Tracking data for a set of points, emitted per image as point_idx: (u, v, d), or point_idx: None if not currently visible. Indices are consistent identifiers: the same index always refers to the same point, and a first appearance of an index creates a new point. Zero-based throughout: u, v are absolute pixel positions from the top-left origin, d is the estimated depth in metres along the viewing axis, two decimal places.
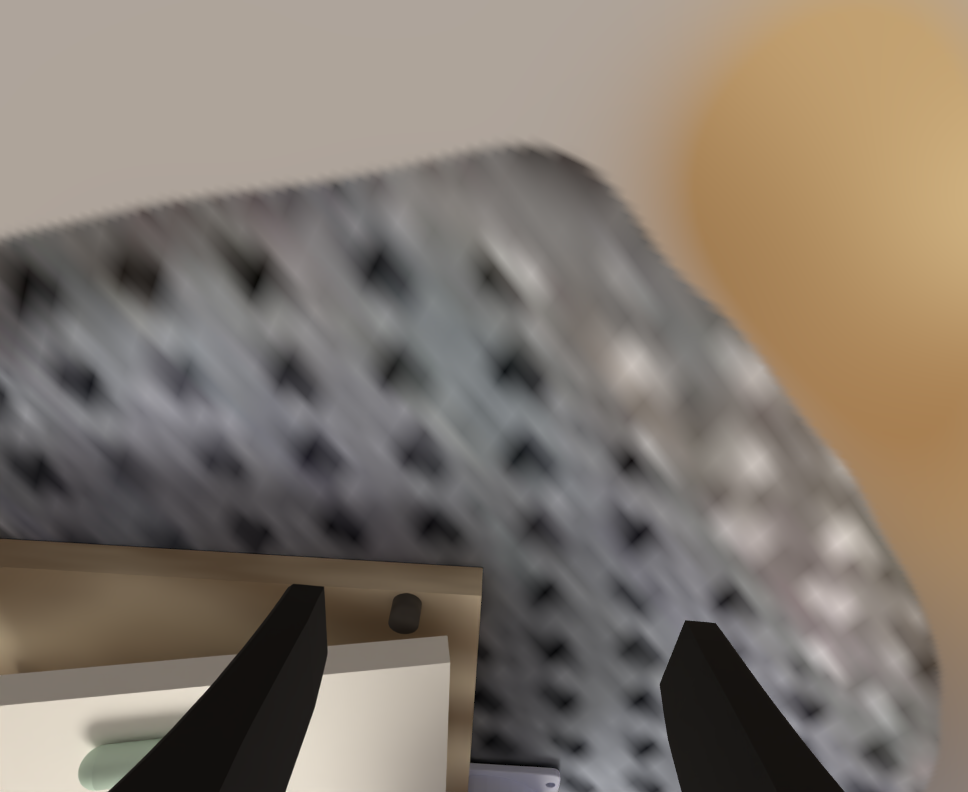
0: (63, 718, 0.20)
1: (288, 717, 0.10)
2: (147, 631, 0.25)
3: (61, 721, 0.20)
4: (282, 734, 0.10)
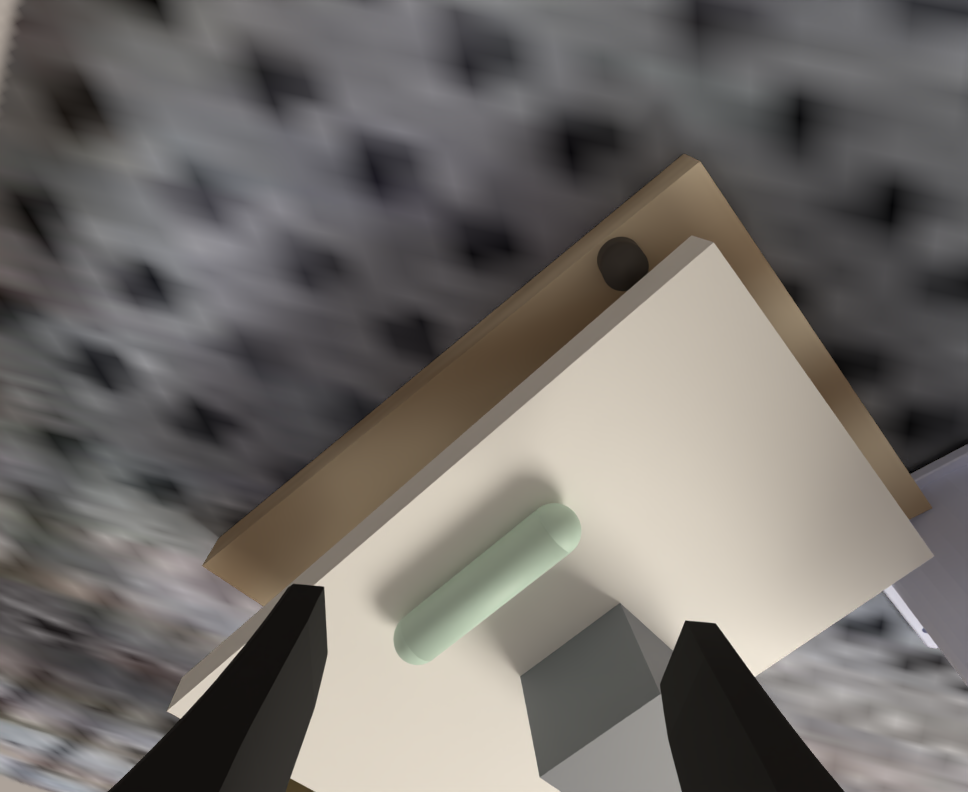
0: (343, 602, 0.16)
1: (288, 717, 0.10)
2: None
3: (345, 608, 0.16)
4: (282, 734, 0.10)
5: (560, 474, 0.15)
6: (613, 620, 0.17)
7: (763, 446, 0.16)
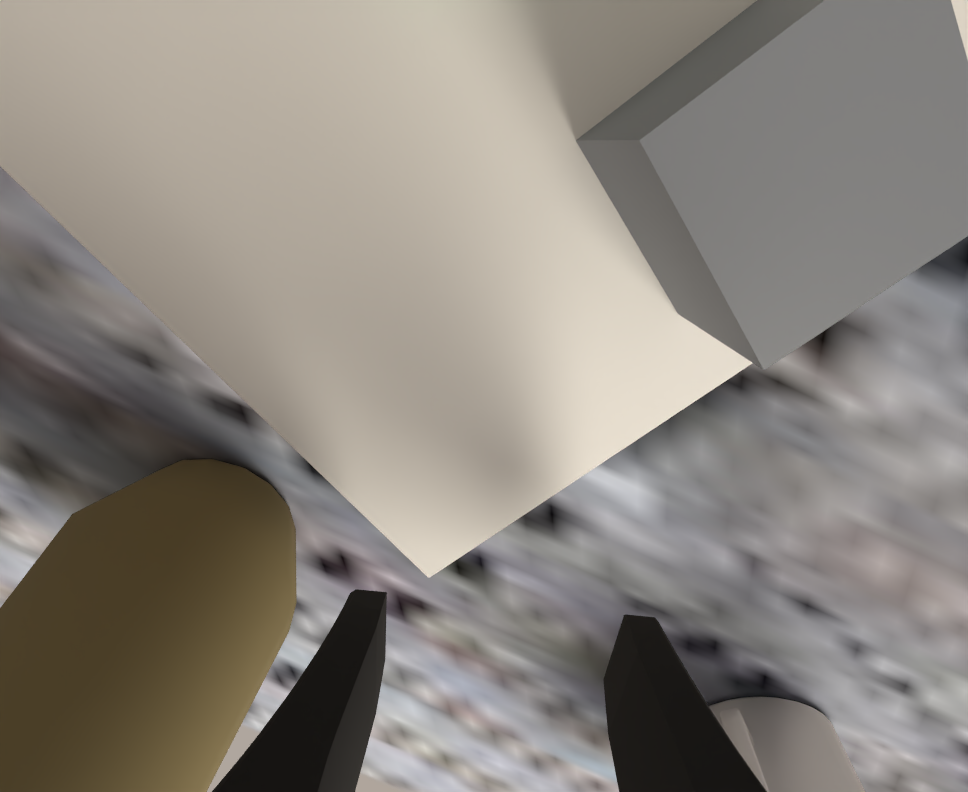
0: None
1: (359, 723, 0.10)
2: None
3: None
4: (354, 740, 0.10)
5: None
6: None
7: None
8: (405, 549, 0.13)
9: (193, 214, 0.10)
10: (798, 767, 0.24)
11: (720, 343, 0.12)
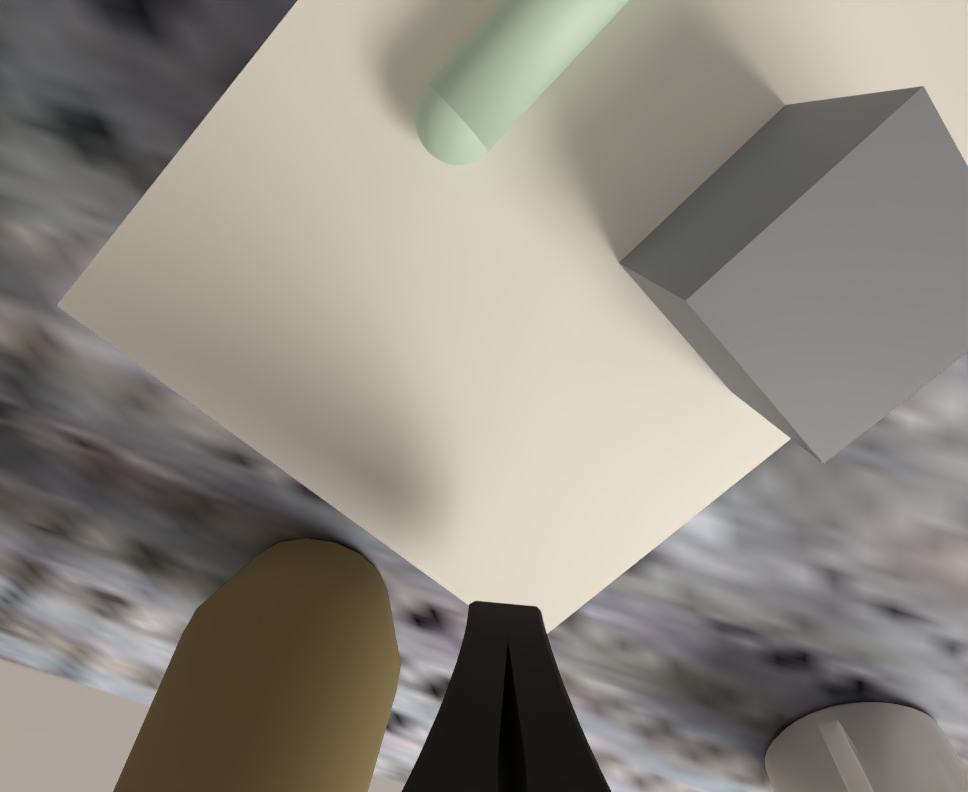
0: (329, 74, 0.10)
1: None
2: None
3: (332, 87, 0.10)
4: None
5: None
6: (779, 121, 0.10)
7: None
8: None
9: (295, 377, 0.12)
10: (907, 773, 0.24)
11: None
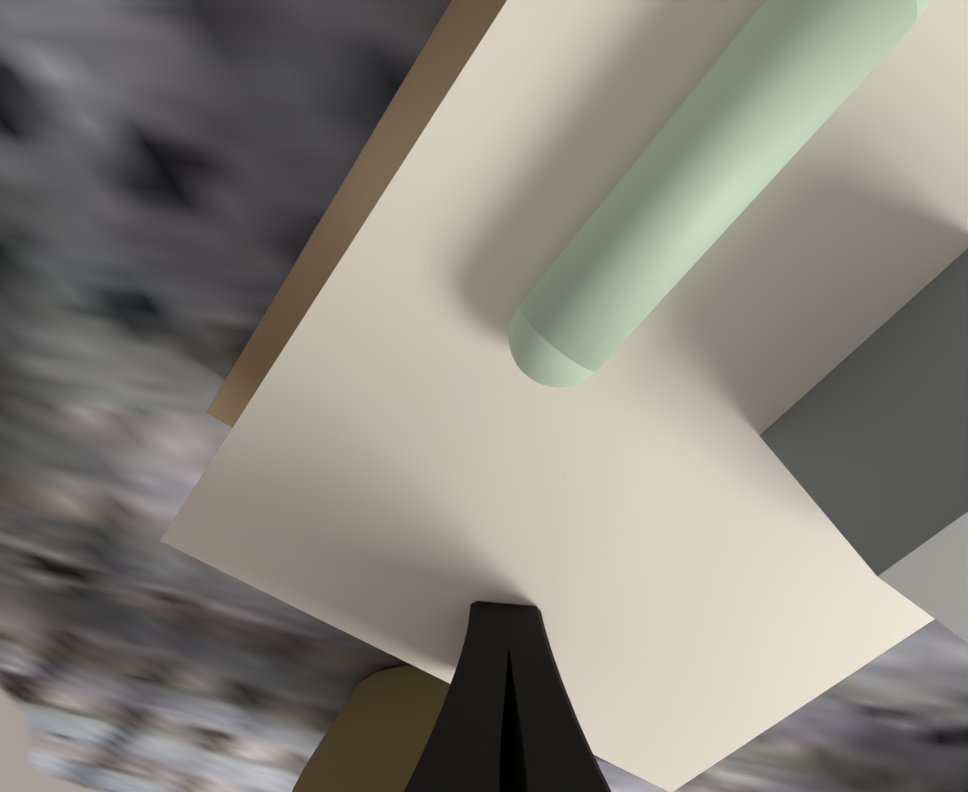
0: (404, 294, 0.08)
1: None
2: None
3: (410, 306, 0.09)
4: None
5: None
6: None
7: None
8: (643, 775, 0.14)
9: (402, 578, 0.11)
10: None
11: None
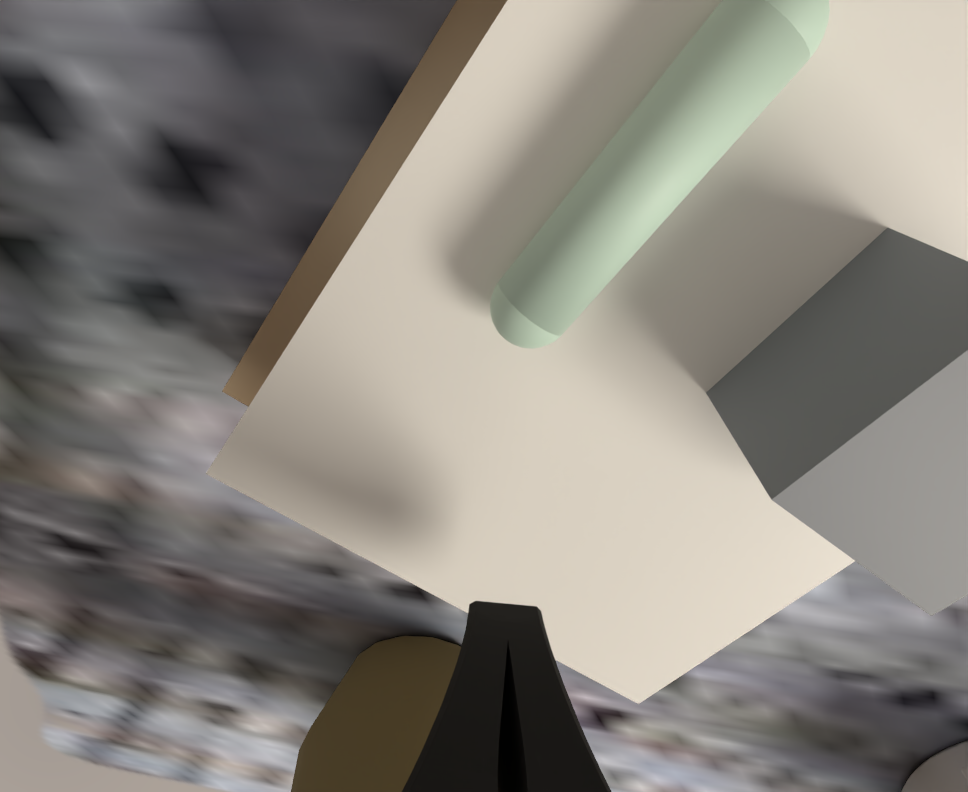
0: (406, 270, 0.10)
1: None
2: None
3: (411, 280, 0.10)
4: None
5: None
6: (879, 253, 0.09)
7: None
8: (614, 687, 0.16)
9: (406, 510, 0.13)
10: None
11: None
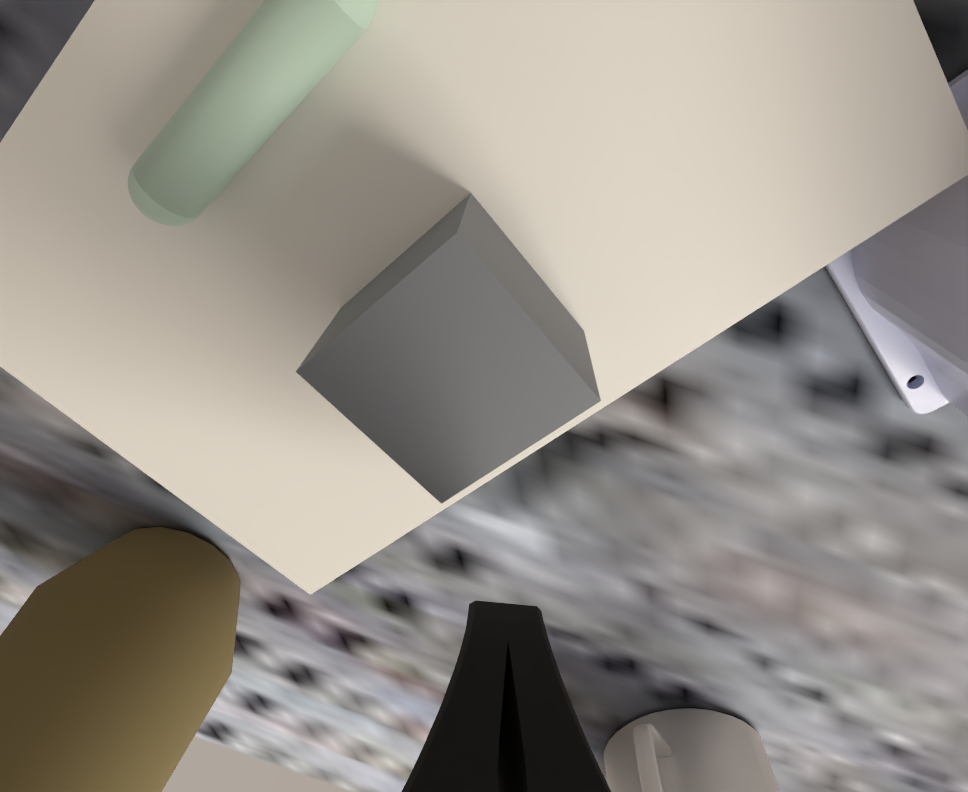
0: (77, 137, 0.12)
1: None
2: None
3: (81, 148, 0.12)
4: None
5: None
6: (454, 210, 0.12)
7: None
8: (288, 575, 0.18)
9: (89, 366, 0.15)
10: (709, 774, 0.26)
11: None
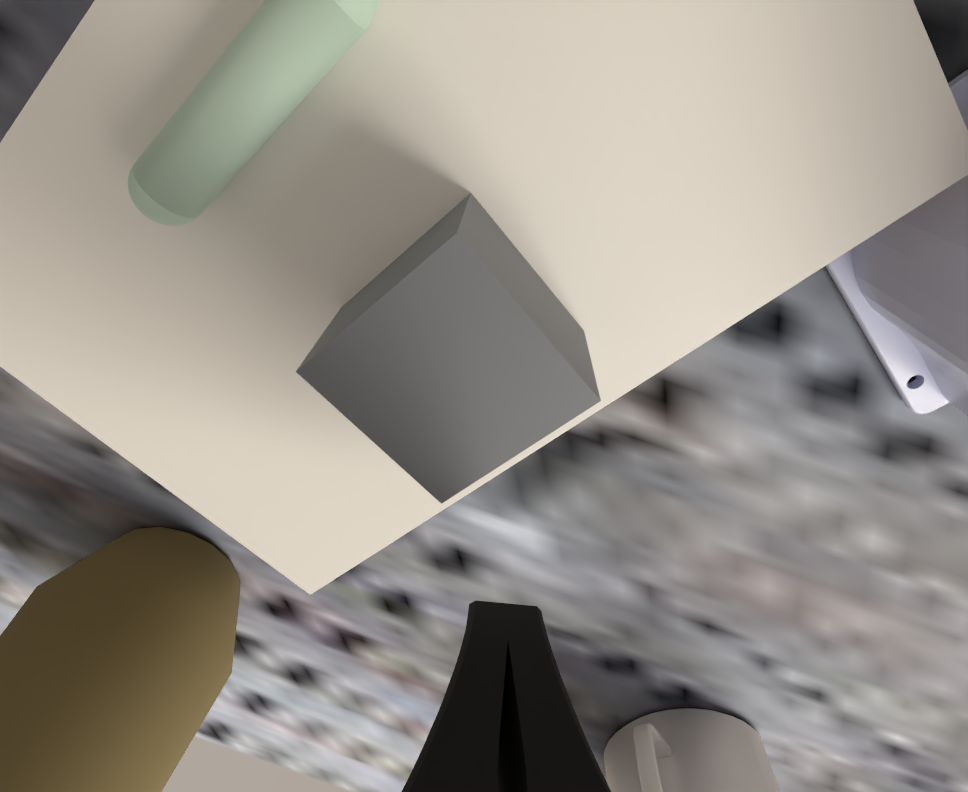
0: (77, 137, 0.12)
1: None
2: None
3: (81, 148, 0.12)
4: None
5: None
6: (454, 210, 0.12)
7: None
8: (288, 575, 0.18)
9: (89, 366, 0.15)
10: (709, 774, 0.26)
11: None
